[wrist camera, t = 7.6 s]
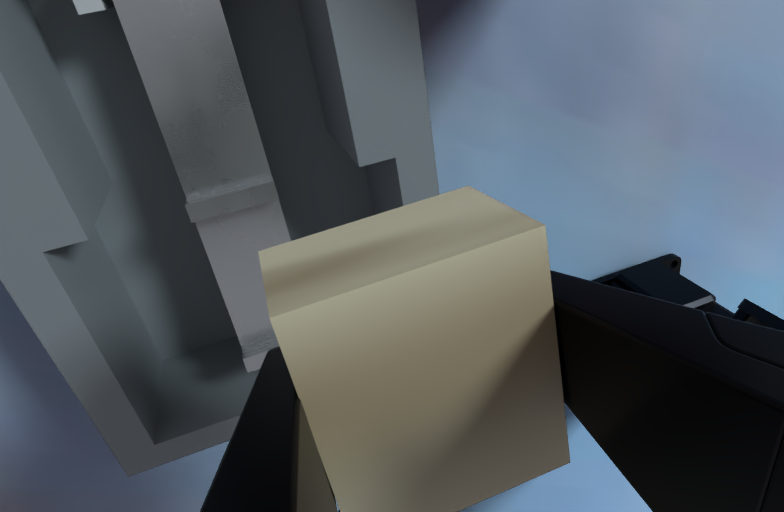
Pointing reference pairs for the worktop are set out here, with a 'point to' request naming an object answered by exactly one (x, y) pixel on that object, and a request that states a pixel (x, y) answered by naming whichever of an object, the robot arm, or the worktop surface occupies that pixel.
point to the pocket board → (167, 199)
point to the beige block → (423, 352)
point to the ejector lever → (212, 150)
